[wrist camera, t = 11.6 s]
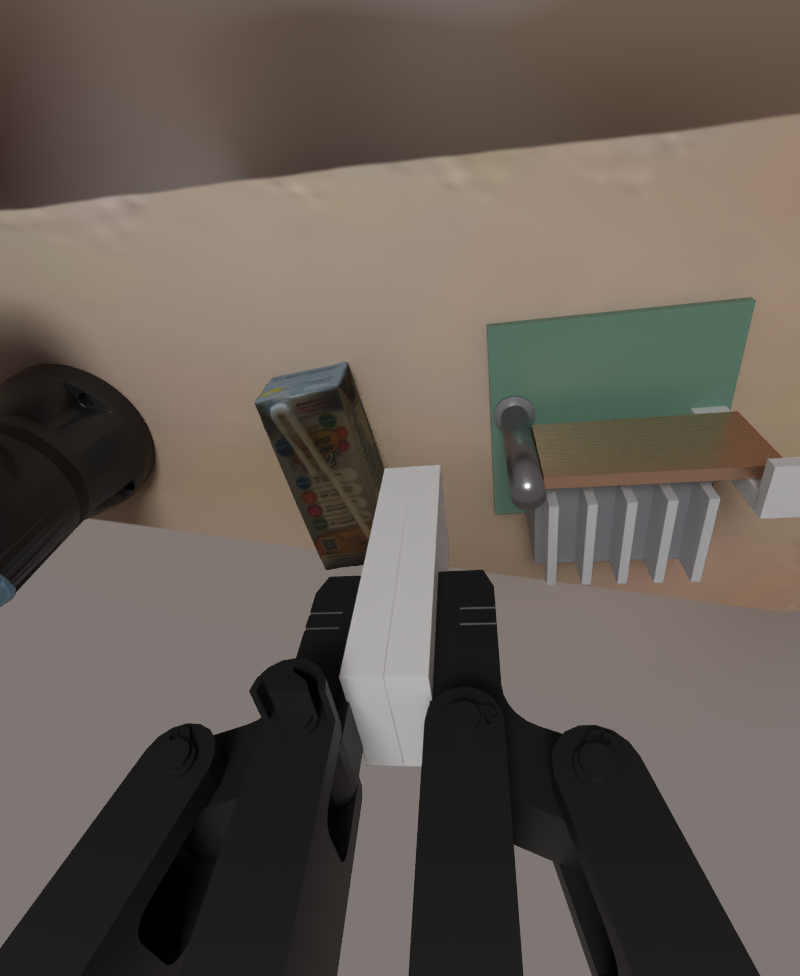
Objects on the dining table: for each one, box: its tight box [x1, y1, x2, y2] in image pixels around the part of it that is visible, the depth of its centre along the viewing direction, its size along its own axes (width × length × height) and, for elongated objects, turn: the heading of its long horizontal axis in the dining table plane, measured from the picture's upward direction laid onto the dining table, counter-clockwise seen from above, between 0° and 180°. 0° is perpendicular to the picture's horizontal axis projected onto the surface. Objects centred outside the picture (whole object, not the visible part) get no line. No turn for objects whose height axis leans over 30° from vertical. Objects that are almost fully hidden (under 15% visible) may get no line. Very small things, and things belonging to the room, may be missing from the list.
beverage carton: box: [255, 362, 384, 570], centre depth 50 cm, size 8×19×7 cm, turn 14°
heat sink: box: [487, 298, 800, 586], centre depth 41 cm, size 20×19×14 cm
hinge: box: [501, 405, 783, 510], centre depth 40 cm, size 18×2×12 cm, turn 97°
